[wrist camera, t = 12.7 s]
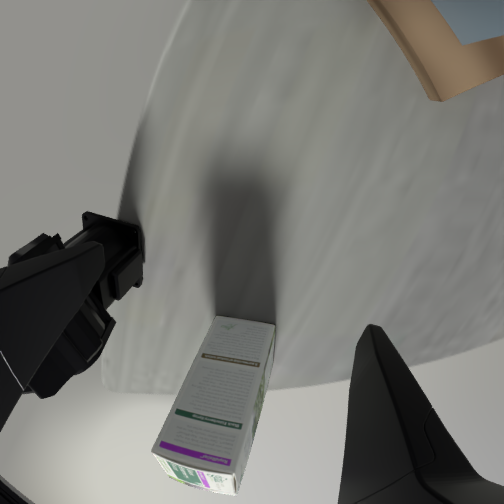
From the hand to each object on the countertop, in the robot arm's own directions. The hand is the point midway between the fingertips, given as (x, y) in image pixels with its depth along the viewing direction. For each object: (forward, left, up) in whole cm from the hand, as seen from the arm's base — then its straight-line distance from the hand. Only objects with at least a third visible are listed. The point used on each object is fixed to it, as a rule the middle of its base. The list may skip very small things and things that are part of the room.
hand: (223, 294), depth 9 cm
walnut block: (+8, +15, -14) cm, 22 cm away
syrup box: (0, -16, -13) cm, 21 cm away
